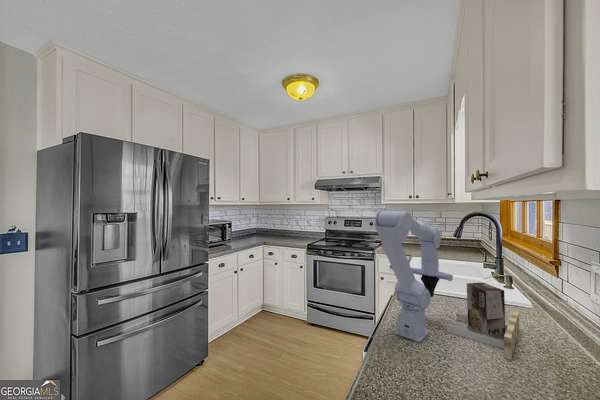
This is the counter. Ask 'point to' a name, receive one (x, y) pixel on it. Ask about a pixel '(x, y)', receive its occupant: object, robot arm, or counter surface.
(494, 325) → the coffee box
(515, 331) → the back plate
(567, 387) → the counter surface
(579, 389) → the counter surface
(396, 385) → the counter surface
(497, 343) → the rails
